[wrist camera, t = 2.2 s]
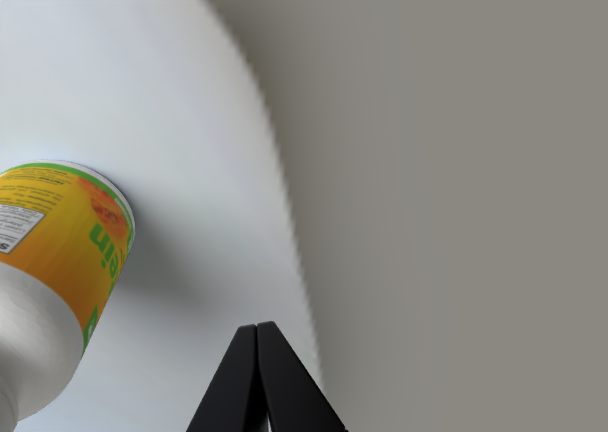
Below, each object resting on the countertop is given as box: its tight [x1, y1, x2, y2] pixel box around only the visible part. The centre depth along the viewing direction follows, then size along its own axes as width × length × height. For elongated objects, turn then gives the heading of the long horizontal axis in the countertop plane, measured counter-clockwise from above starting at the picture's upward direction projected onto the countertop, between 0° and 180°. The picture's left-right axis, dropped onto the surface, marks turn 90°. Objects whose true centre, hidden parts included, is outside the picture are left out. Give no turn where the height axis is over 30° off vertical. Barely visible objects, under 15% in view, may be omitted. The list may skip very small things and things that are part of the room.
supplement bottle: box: [0, 160, 135, 432], centre depth 11 cm, size 5×5×10 cm
